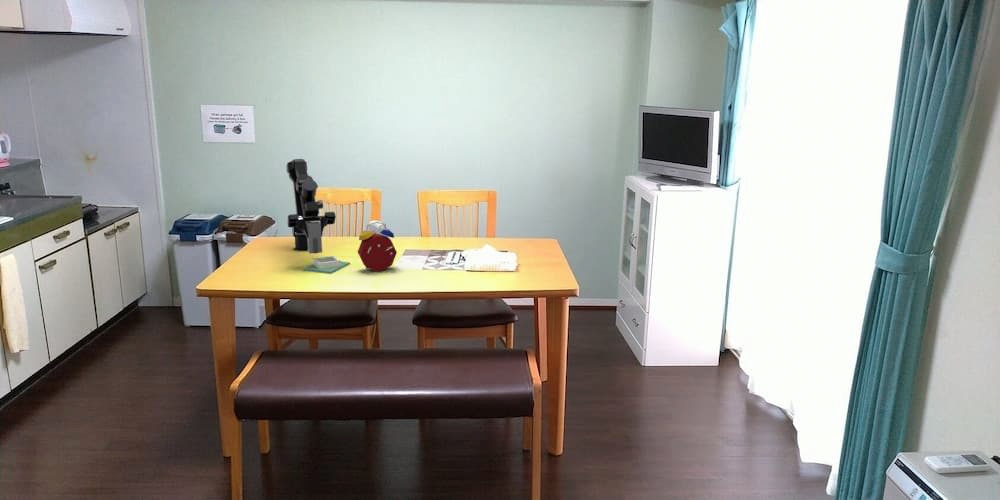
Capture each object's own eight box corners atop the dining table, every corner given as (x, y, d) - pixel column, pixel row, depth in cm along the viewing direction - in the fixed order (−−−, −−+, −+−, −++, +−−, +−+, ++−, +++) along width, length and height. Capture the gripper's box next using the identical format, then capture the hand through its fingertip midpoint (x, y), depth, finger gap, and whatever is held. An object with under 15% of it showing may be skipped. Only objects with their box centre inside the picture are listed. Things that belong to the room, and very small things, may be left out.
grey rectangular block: (308, 251, 295) (306, 222, 292) (320, 250, 297) (318, 221, 294) (309, 254, 291) (308, 224, 288) (322, 252, 293) (320, 223, 290)
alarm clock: (393, 266, 300) (392, 219, 295) (398, 271, 292) (397, 223, 287) (358, 269, 295) (356, 221, 290) (362, 275, 287) (360, 225, 282)
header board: (302, 270, 292) (302, 262, 291) (322, 261, 306) (322, 253, 305) (331, 273, 288) (330, 265, 288) (350, 264, 302) (349, 256, 301)
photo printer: (368, 245, 333) (367, 219, 329) (376, 244, 335) (375, 218, 332) (379, 250, 325) (378, 223, 322) (387, 248, 328) (386, 222, 324)
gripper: (286, 195, 288) (292, 227, 281) (333, 192, 295) (340, 224, 288) (285, 210, 297) (290, 242, 290) (331, 207, 304) (337, 239, 297)
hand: (314, 236), depth 291 cm, fingers closed on grey rectangular block, 5 cm apart
